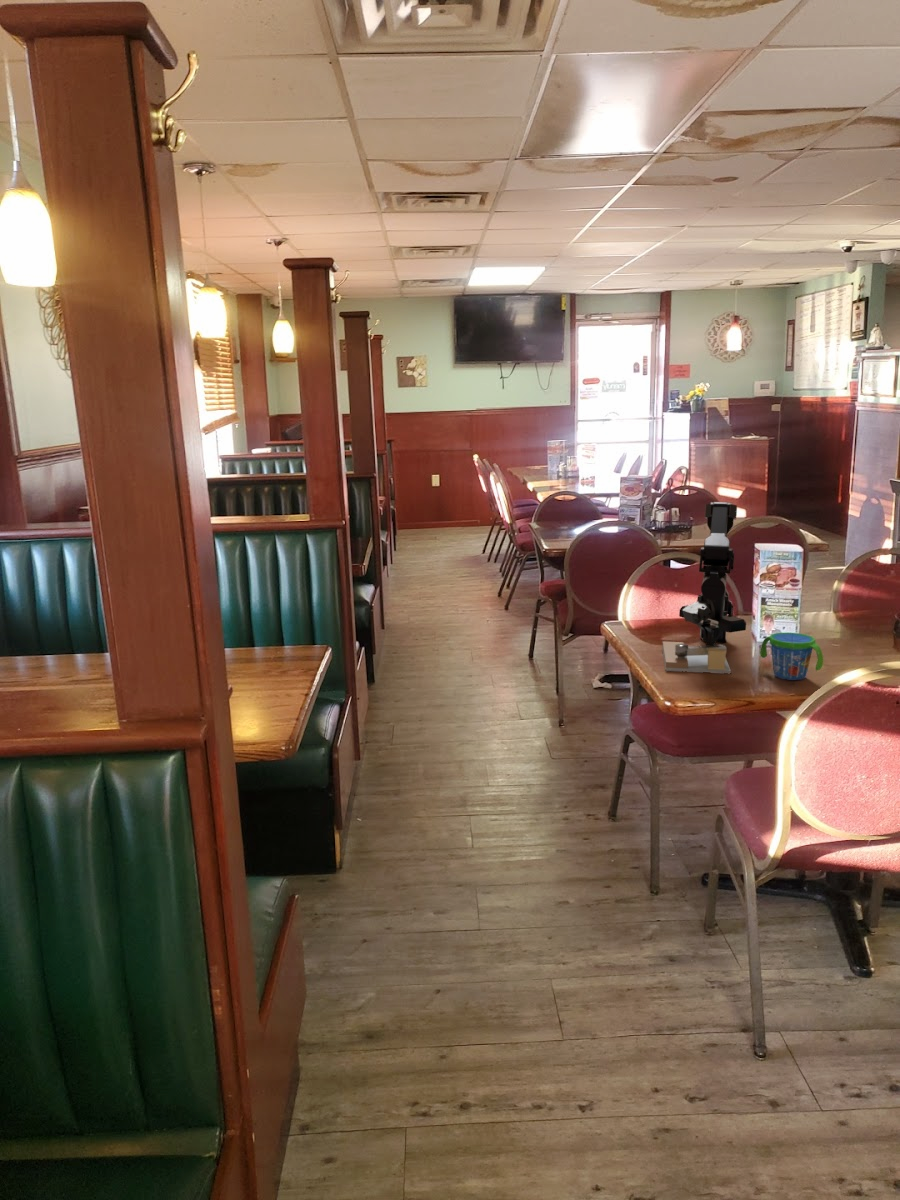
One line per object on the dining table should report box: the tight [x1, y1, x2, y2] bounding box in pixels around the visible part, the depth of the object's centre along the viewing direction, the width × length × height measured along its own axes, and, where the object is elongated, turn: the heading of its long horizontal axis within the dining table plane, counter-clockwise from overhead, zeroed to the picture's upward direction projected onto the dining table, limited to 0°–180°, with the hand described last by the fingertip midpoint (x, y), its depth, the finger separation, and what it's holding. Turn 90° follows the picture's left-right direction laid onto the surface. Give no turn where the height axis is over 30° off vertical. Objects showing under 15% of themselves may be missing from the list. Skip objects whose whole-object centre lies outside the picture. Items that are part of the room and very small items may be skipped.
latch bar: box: [675, 643, 728, 656], centre depth 220 cm, size 13×3×2 cm, turn 95°
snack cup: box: [759, 632, 824, 681], centre depth 210 cm, size 16×10×10 cm
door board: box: [661, 641, 732, 675], centre depth 225 cm, size 16×20×6 cm
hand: (709, 649), depth 222 cm, fingers closed
